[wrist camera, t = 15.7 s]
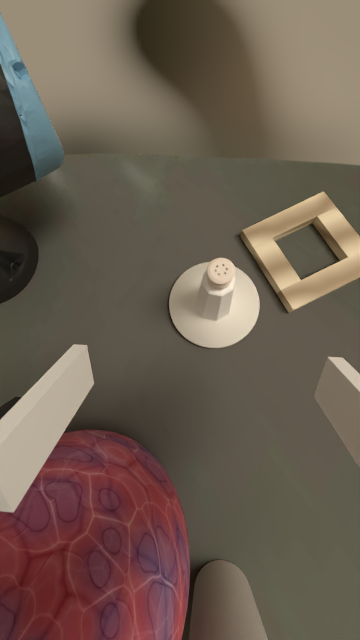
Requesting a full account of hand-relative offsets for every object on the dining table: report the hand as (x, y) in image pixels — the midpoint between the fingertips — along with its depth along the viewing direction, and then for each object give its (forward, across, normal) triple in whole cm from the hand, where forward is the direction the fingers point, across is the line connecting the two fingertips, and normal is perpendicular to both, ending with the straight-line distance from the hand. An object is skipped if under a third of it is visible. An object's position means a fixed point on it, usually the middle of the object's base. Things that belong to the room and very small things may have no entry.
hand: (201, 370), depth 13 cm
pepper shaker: (+20, +2, -4) cm, 21 cm away
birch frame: (+26, +16, +3) cm, 31 cm away
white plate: (+21, +2, -4) cm, 21 cm away
